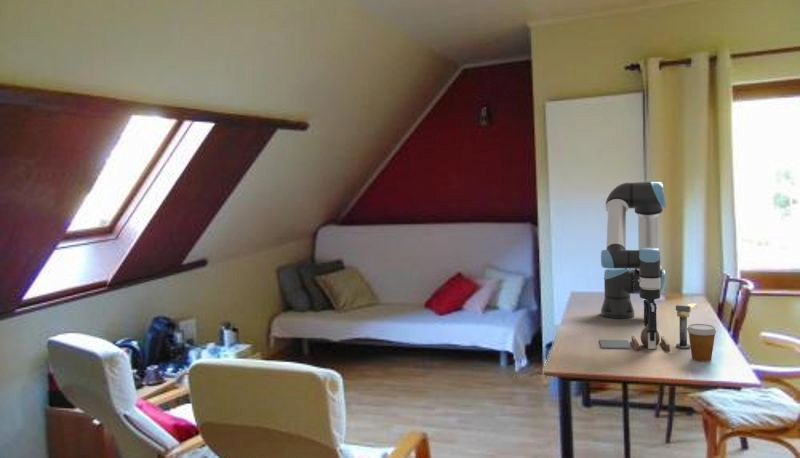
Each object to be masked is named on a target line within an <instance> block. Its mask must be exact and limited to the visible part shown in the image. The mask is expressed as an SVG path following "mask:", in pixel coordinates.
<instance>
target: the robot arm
mask: <svg viewBox="0 0 800 458" xmlns="http://www.w3.org/2000/svg"><path fill="white" fill-rule="evenodd" d="M666 207H667V204H666V196H665V189H664V185H663V183H662V182H661V181H641V182H640V181H639V182H638V181H636V182H624V183H621V184H619V185H617V186H616V187H615V188H613V189H612V190H611V192H610V193H609V194H608V196H607V198H606V200H605V210H606V212H607V221H606V222H607V225H606V249H602V250H601V253H600V264H601V265H600V266H601V267H602V268H603V269H605V270H604V273H603V274H604V275H603V276H604V277H603V279H604V282H603V283H604V299H603V302H602V305H601V309H600V316H602V317H604V318H605V317H606V318H612V319H629V318H633V317H635V309H634V306H633V303H632V300H631V295H639V298H640V299H643V325H644V327H646V325H647V324H648V329H649V330H648V331H647V332H648V347H647V349H649V350H656V348H657V346H656V332H657V331H658V328H657V324H658V323H657V303H656V302H655V300H659V299H660V298H661V294H662V293H663V292H664V289H665V283H666V270H665V269H663V267H662V265H661V250H660V249H659V247H660V245H659V241H660V240H659V239H660V238H659V236H660V235H659V234H660V232H659V228H660V227H659V226H660V223H659V222H660V221H659V220H660V219H659V218H660V215H661V214H662V213H663V209H665V208H666ZM629 209H634V213H635V214H636V215H637V217H638V218H637V224H638V225H637V226H638V229H637V230H638V231H637V233H638V234H637V236H638V239H637V240H638V242H637V243H638V244H637V245H638V248H637V249H626V246H627V245H626V244H627V243H626V239H627V238H626V237H627V236H626V234H627V233H626V232H627V228H626V227H627V212H628V211H629Z"/></svg>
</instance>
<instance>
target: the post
mask: <svg viewBox="0 0 800 458" xmlns="http://www.w3.org/2000/svg"><path fill="white" fill-rule="evenodd" d="M687 328H688V317H679V343H676V344H675V348H677V349H681V350H689V349H691V347H690V343H689V344H688V330H687Z"/></svg>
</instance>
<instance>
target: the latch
mask: <svg viewBox="0 0 800 458" xmlns="http://www.w3.org/2000/svg"><path fill="white" fill-rule="evenodd" d="M696 309H697V303H694V302H693V303H691V302H689V304H687V305H684V304H683V305H682V304H676V305H675V311H676V316H677V317H679V318H680V317H687V318H689V317H690V314H691V313H692V312H693V311H694V310H696Z"/></svg>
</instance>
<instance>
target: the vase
mask: <svg viewBox="0 0 800 458" xmlns="http://www.w3.org/2000/svg"><path fill="white" fill-rule="evenodd" d="M648 330H649V329H648V324H647V325H646V326H644V327H643V329H642V330H641V333H640V341H641V343H642V345H643V346H644V347H645V348H648V332H647V331H648ZM660 342H661V336H660V333H659V331H658V330H657V332H656V347H658V345H659V343H660Z"/></svg>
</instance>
